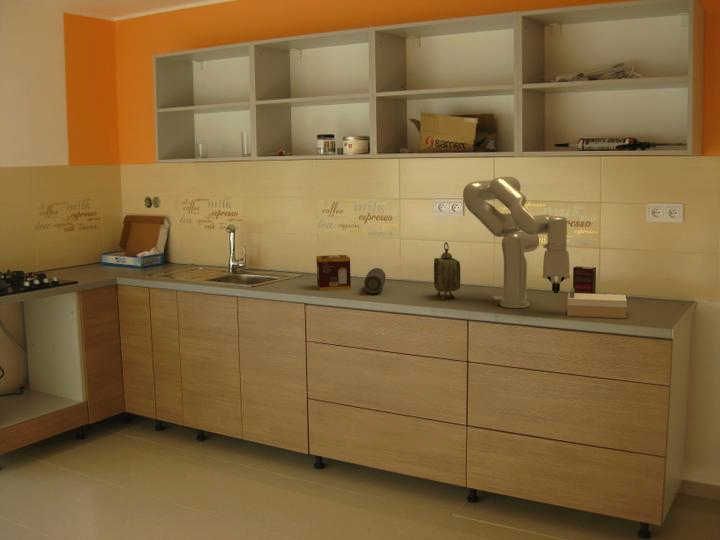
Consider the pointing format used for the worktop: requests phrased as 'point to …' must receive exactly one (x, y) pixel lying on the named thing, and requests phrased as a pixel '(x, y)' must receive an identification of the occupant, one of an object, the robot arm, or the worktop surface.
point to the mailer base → (596, 311)
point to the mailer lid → (596, 299)
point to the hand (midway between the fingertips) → (555, 292)
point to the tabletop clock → (446, 273)
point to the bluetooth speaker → (374, 280)
